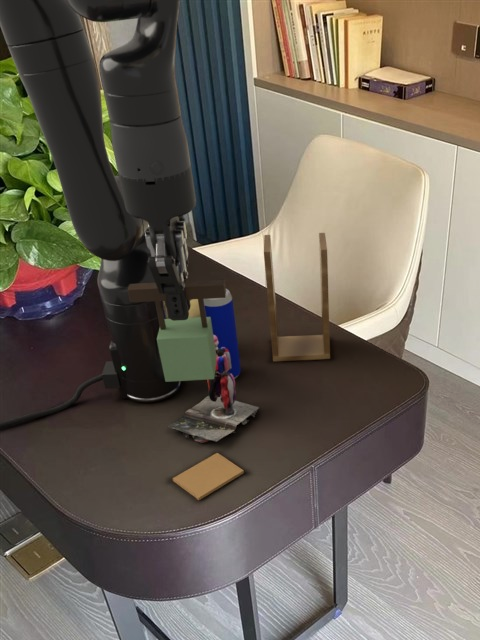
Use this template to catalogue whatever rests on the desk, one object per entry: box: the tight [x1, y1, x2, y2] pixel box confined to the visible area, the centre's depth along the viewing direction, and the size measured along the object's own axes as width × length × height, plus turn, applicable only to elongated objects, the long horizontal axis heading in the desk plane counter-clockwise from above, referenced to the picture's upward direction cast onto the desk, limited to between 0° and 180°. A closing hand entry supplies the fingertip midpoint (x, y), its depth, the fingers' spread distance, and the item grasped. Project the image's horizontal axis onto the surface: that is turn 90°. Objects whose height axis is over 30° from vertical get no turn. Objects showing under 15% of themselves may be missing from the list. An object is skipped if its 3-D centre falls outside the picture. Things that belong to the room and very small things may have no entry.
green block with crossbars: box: [128, 279, 227, 382], centre depth 87 cm, size 11×5×12 cm, turn 95°
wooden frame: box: [263, 232, 331, 362], centre depth 123 cm, size 10×7×20 cm
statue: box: [167, 335, 260, 444], centre depth 108 cm, size 11×9×15 cm
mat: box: [172, 452, 245, 501], centre depth 102 cm, size 8×6×1 cm
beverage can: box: [204, 288, 242, 380], centre depth 118 cm, size 5×5×15 cm
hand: (180, 314), depth 86 cm, fingers closed on green block with crossbars
